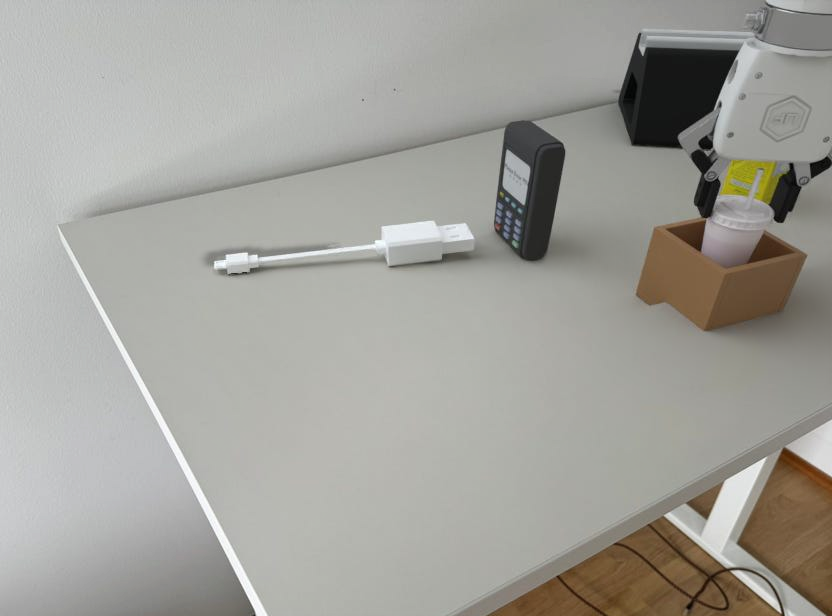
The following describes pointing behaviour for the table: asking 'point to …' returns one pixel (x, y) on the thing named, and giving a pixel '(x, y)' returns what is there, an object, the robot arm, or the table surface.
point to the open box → (716, 277)
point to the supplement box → (745, 173)
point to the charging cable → (379, 247)
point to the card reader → (528, 188)
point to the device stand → (675, 82)
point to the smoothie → (736, 227)
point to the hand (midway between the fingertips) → (739, 213)
